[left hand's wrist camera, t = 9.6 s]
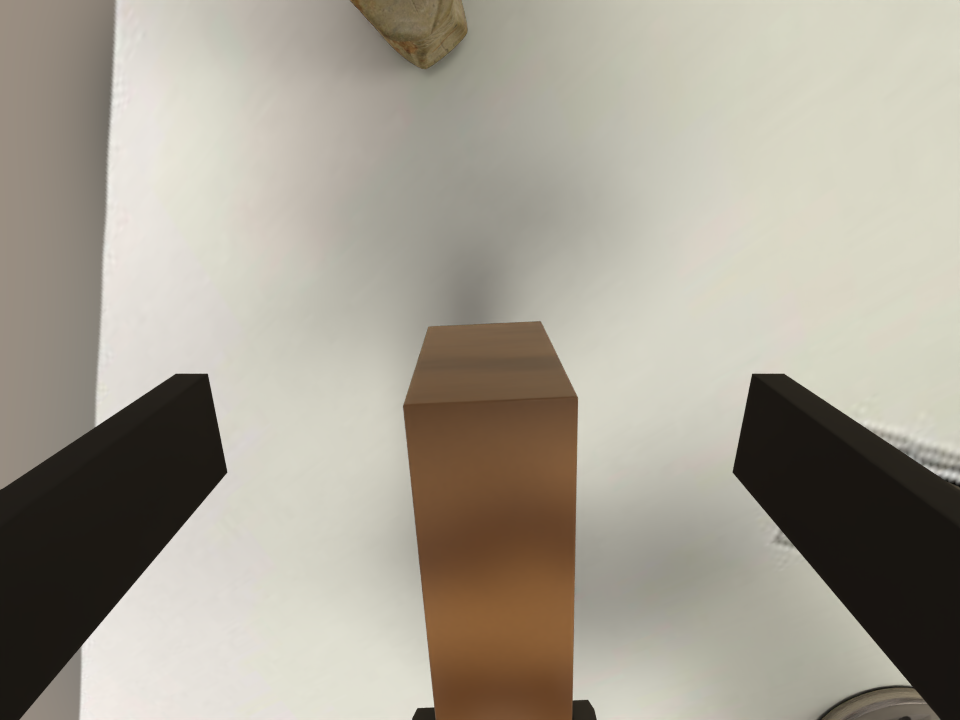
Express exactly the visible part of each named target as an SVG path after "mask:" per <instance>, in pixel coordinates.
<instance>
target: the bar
mask: <svg viewBox="0 0 960 720" xmlns="http://www.w3.org/2000/svg"><path fill="white" fill-rule="evenodd" d="M403 410H404V420H405V429H406V439H407V448H408V458H409V468H410V477H411V487H412V496H413V506H414V516H415V525H416V535H417V544H418V554H419V564H420V573H421V583H422V592H423V602H424V612H425V621H426V631H427V640H428V650H429V660H430V669H431V679H432V688H433V698H434V708H435V717H436V720H572V701H573V646H574V591H575V535H576V480H577V425H578V397H577V395H576V393H575V391H574V389H573V387H572V384H571V382H570V380H569V378H568V376H567V374H566V372H565V370H564V368H563V366H562V364H561V362H560V360H559V358H558V356H557V354H556V352H555V350H554V347H553V345H552V343H551V341H550V339H549V337H548V335H547V333H546V331H545V329H544V327H543V325H542V323H541V322H540V321H536V322H515V323H494V324H473V325H452V326H431V327H428V330H427V333H426V336H425V339H424V342H423V345H422V348H421V352H420V355H419V358H418V361H417V364H416V367H415V370H414V374H413V377H412V380H411V383H410V386H409V389H408V392H407V395H406V399H405V402H404V405H403Z"/></svg>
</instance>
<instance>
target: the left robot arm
mask: <svg viewBox="0 0 960 720" xmlns="http://www.w3.org/2000/svg"><path fill="white" fill-rule="evenodd" d="M226 473H227V468H226V463H225V458H224V453H223V448H222V443H221V438H220V433H219V428H218V423H217V418H216V413H215V408H214V403H213V398H212V393H211V388H210V382H209V377H208V374H175V375H173V376H172V377H170V378H169V379H167V380H166V381H164V382H163V383H161V384H160V385H158V386H157V387H155V388H154V389H152V390H151V391H149V392H148V393H146V394H145V395H143V396H142V397H140V398H139V399H137V400H136V401H134V402H133V403H131V404H130V405H128V406H127V407H125V408H124V409H122V410H121V411H119V412H118V413H116V414H115V415H113V416H112V417H110V418H109V419H107V420H106V421H104V422H103V423H101V424H100V425H98V426H97V427H95V428H94V429H92V430H91V431H89V432H88V433H86V434H85V435H83V436H82V437H80V438H79V439H77V440H76V441H74V442H73V443H71V444H69V445H68V446H67V447H65V448H63V449H62V450H60V451H59V452H57V453H56V454H54V455H53V456H51V457H50V458H48V459H47V460H45V461H44V462H42V463H41V464H39V465H38V466H36V467H35V468H33V469H32V470H30V471H29V472H27V473H26V474H24V475H23V476H21V477H20V478H18V479H17V480H15V481H14V482H12V483H11V484H9V485H8V486H6V487H5V488H3V489H1V490H0V720H19V719H20V718H21V717H22V716H23V715H24V714H25V712H26V711H27V710H28V709H29V708H30V706H31V705H32V704H33V703H34V702H35V700H36V699H37V698H38V697H39V696H40V695H41V693H42V692H43V691H44V690H45V689H46V687H47V686H48V685H49V684H50V683H51V681H52V680H53V679H54V678H55V677H56V676H57V674H58V673H59V672H60V671H61V670H62V668H63V667H64V666H65V665H66V664H67V662H68V661H69V660H70V659H71V658H72V657H73V655H74V654H75V653H76V652H77V651H78V649H79V648H80V647H81V646H82V645H83V643H84V642H85V641H86V640H87V639H88V637H89V636H90V635H91V634H92V633H93V632H94V630H95V629H96V628H97V627H98V626H99V624H100V623H101V622H102V621H103V620H104V618H105V617H106V616H107V615H108V614H109V613H110V611H111V610H112V609H113V608H114V607H115V605H116V604H117V603H118V602H119V601H120V599H121V598H122V597H123V596H124V595H125V593H126V592H127V591H128V590H129V589H130V588H131V586H132V585H133V584H134V583H135V582H136V580H137V579H138V578H139V577H140V576H141V574H142V573H143V572H144V571H145V570H146V569H147V567H148V566H149V565H150V564H151V563H152V561H153V560H154V559H155V558H156V557H157V555H158V554H159V553H160V552H161V551H162V550H163V548H164V547H165V546H166V545H167V544H168V542H169V541H170V540H171V539H172V538H173V536H174V535H175V534H176V533H177V532H178V530H179V529H180V528H181V527H182V526H183V525H184V523H185V522H186V521H187V520H188V519H189V517H190V516H191V515H192V514H193V513H194V511H195V510H196V509H197V508H198V507H199V506H200V504H201V503H202V502H203V501H204V500H205V498H206V497H207V496H208V495H209V494H210V492H211V491H212V490H213V489H214V488H215V486H216V485H217V484H218V483H219V482H220V481H221V479H222V478H223V477H224V476H225V475H226ZM733 473H734V475H735V476H736V477H737V478H738V479H739V481H740V482H741V483H742V484H743V485H744V486H745V488H746V489H747V490H748V491H749V492H750V494H751V495H752V496H753V497H754V498H755V500H756V501H757V502H758V503H759V504H760V506H761V507H762V508H763V509H764V510H765V511H766V513H767V514H768V515H769V516H770V517H771V519H772V520H773V521H774V522H775V523H776V525H777V526H778V527H779V528H780V529H781V530H782V532H783V533H784V534H785V535H786V536H787V538H788V539H789V540H790V541H791V542H792V544H793V545H794V546H795V547H796V548H797V550H798V551H799V552H800V553H801V554H802V555H803V557H804V558H805V559H806V560H807V561H808V563H809V564H810V565H811V566H812V567H813V569H814V570H815V571H816V572H817V573H818V574H819V576H820V577H821V578H822V579H823V580H824V582H825V583H826V584H827V585H828V586H829V588H830V589H831V590H832V591H833V592H834V593H835V595H836V596H837V597H838V598H839V599H840V601H841V602H842V603H843V604H844V605H845V607H846V608H847V609H848V610H849V611H850V613H851V614H852V615H853V616H854V617H855V618H856V620H857V621H858V622H859V623H860V624H861V626H862V627H863V628H864V629H865V630H866V632H867V633H868V634H869V635H870V636H871V637H872V639H873V640H874V641H875V642H876V643H877V645H878V646H879V647H880V648H881V649H882V651H883V652H884V653H885V654H886V655H887V657H888V658H889V659H890V660H891V661H892V662H893V664H894V665H895V666H896V667H897V668H898V670H899V671H900V672H901V673H902V674H903V676H904V677H905V678H906V679H907V680H908V681H909V683H910V684H911V685H912V686H913V687H914V689H915V690H916V691H917V692H918V693H919V695H920V696H921V697H922V698H923V699H924V701H925V702H926V703H927V704H928V705H929V706H930V708H931V709H932V710H933V711H934V712H935V714H936V715H937V716H938V717H939V718H940V720H960V487H958V486H955V485H953V484H951V483H949V482H946V481H945V480H943V479H942V478H940V477H939V476H937V475H936V474H934V473H933V472H931V471H930V470H928V469H927V468H925V467H924V466H922V465H921V464H919V463H918V462H916V461H915V460H913V459H912V458H910V457H909V456H907V455H906V454H904V453H903V452H901V451H900V450H898V449H897V448H895V447H894V446H892V445H891V444H889V443H888V442H886V441H884V440H883V439H881V438H880V437H878V436H877V435H875V434H874V433H872V432H871V431H869V430H868V429H866V428H865V427H863V426H862V425H860V424H859V423H857V422H856V421H854V420H853V419H851V418H850V417H848V416H847V415H845V414H844V413H842V412H841V411H839V410H838V409H836V408H835V407H833V406H832V405H830V404H829V403H827V402H826V401H824V400H823V399H821V398H820V397H818V396H817V395H815V394H814V393H812V392H811V391H809V390H808V389H806V388H805V387H803V386H802V385H800V384H799V383H797V382H796V381H794V380H793V379H791V378H790V377H788V376H787V375H785V374H752V377H751V382H750V388H749V393H748V398H747V403H746V408H745V413H744V418H743V423H742V428H741V433H740V438H739V443H738V448H737V453H736V458H735V463H734V468H733Z"/></svg>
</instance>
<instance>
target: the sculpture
mask: <svg viewBox="0 0 960 720" xmlns="http://www.w3.org/2000/svg"><path fill="white" fill-rule="evenodd" d="M350 1H351V2H352V3H353V4H354V5H355V6H356V7H357V8H358V9H359V10H360V12H361V13H362V14H363V15H364V16H365V17H366V18H367V20H368V21H369V22H370V23H371V24H372V25H373V26H374V27H375V28H376V29H377V30H378V32H379V33H380V34H381V35H382V36H383V37H384V39H385V40H386V41H387V42H388V43H389V44H390V45H391V46H392V47H393V48H394V49H395V50H396V51H397V52H398V53H399V54H401V55H402V56H403V57H404V58H406V59H407V60H408V61H410V62H411V63H413V64H414V65H416V66H417V67H419V68H422V69H427V68H429V67H431V66H432V65H434V64H435V63H437V62H438V61H439V60H440V59H442V58H443V57H444V56H445V55H447V54H448V53H449V52H450V51H451V50H452V49H454V48H455V47H456V46H457V45H458V44H459V43H460V42H461V40H462V39H463V38H464V37H465V35H466V34H467V22H466V18H465V13H464V9H463V5H462V1H461V0H350Z"/></svg>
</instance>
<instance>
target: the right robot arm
mask: <svg viewBox="0 0 960 720" xmlns="http://www.w3.org/2000/svg"><path fill="white" fill-rule="evenodd" d="M412 720H436V717H435V708H417V710H416V712H415V714H414V716H413V718H412ZM572 720H597V719H596V715H595V711H594V708H593V707H592V705H591V704H590V702H589V701H588V700H574V701H572ZM821 720H940V718H939V717H938V716H937V715H936V714H935V712H934V711H933V710H932V709H931V708H930V706H929V705H928V704H927V703H926V702H925V701H924V699H923V698H922V697H921V696H920V695H919V693H918V692H917V691H916V690H915V689H914V688H888V689H881V690H876V691H872V692H869V693H865V694H862V695H860V696H857V697H855V698H852V699H850V700H848V701H846V702H844V703H842V704H841V705H839V706H837V707H836V708H834V709H833V710H832V711H830V712H829V713H828V714H827V715H825V716H824V717H823V718H822V719H821Z"/></svg>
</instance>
